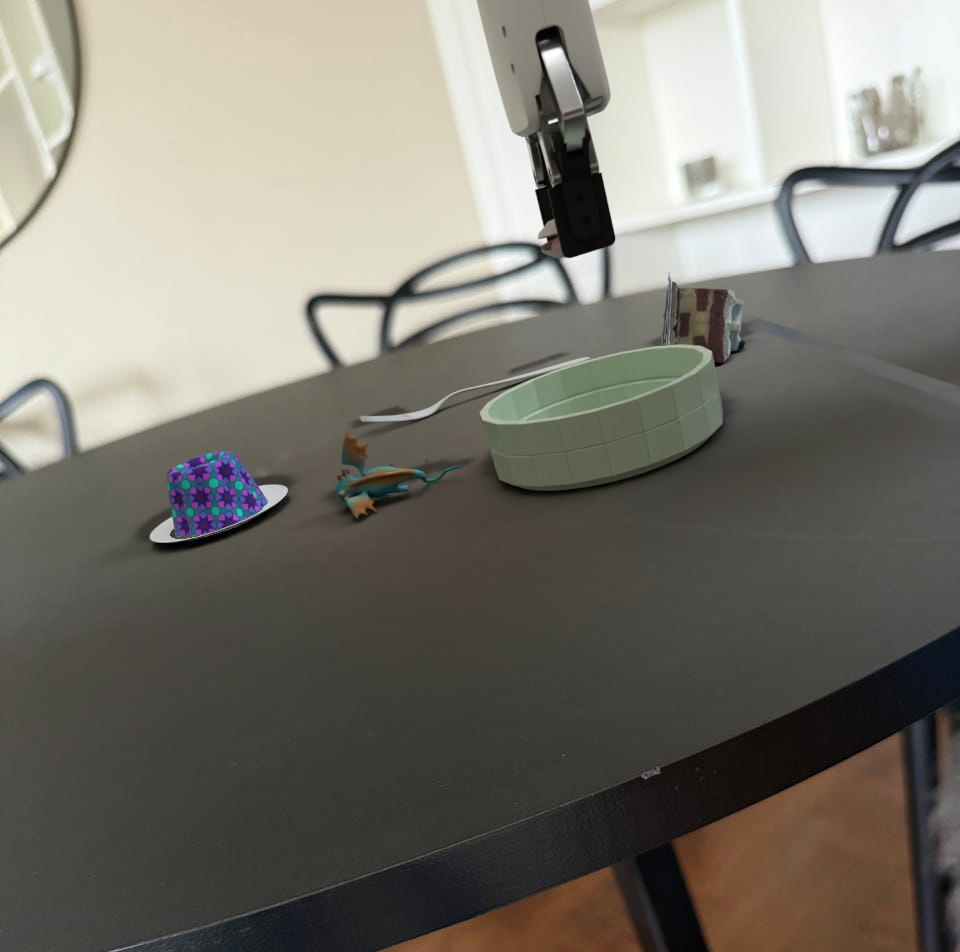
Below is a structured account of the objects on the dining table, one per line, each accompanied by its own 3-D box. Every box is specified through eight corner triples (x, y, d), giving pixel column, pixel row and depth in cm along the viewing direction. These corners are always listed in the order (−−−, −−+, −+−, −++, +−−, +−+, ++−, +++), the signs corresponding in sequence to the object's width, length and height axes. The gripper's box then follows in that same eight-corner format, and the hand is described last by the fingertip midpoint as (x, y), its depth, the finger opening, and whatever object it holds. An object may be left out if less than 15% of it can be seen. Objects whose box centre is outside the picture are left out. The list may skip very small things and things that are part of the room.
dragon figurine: (415, 456, 83) (321, 452, 79) (457, 423, 76) (358, 417, 72) (425, 535, 82) (331, 535, 78) (469, 508, 75) (369, 507, 71)
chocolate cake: (749, 369, 84) (755, 244, 87) (662, 365, 85) (671, 242, 88) (733, 425, 93) (738, 311, 96) (654, 421, 94) (663, 308, 97)
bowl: (689, 397, 80) (676, 333, 78) (756, 443, 65) (743, 366, 63) (489, 456, 81) (472, 394, 78) (511, 516, 66) (490, 441, 64)
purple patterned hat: (319, 488, 86) (297, 429, 84) (218, 549, 78) (191, 485, 76) (226, 496, 94) (204, 442, 92) (124, 552, 85) (98, 494, 83)
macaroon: (532, 269, 63) (522, 227, 62) (574, 249, 67) (564, 209, 66) (591, 255, 61) (581, 211, 60) (631, 236, 64) (622, 194, 63)
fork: (595, 360, 103) (591, 342, 102) (367, 438, 99) (361, 420, 99) (584, 357, 105) (580, 340, 105) (362, 433, 102) (356, 416, 102)
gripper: (599, -164, 48) (676, 236, 56) (547, -77, 64) (612, 227, 71) (447, -115, 48) (543, 277, 56) (431, -40, 64) (508, 259, 71)
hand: (581, 246), depth 63 cm, fingers closed on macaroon, 4 cm apart
